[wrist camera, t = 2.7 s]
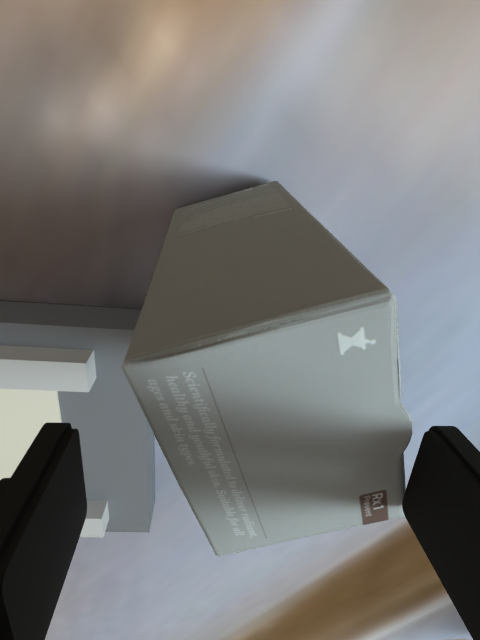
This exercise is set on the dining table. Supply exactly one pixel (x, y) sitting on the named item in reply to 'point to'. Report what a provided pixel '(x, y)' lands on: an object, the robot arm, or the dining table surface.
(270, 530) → the skincare box
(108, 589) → the dining table surface
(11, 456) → the panel
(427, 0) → the dining table surface
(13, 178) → the dining table surface
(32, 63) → the dining table surface
